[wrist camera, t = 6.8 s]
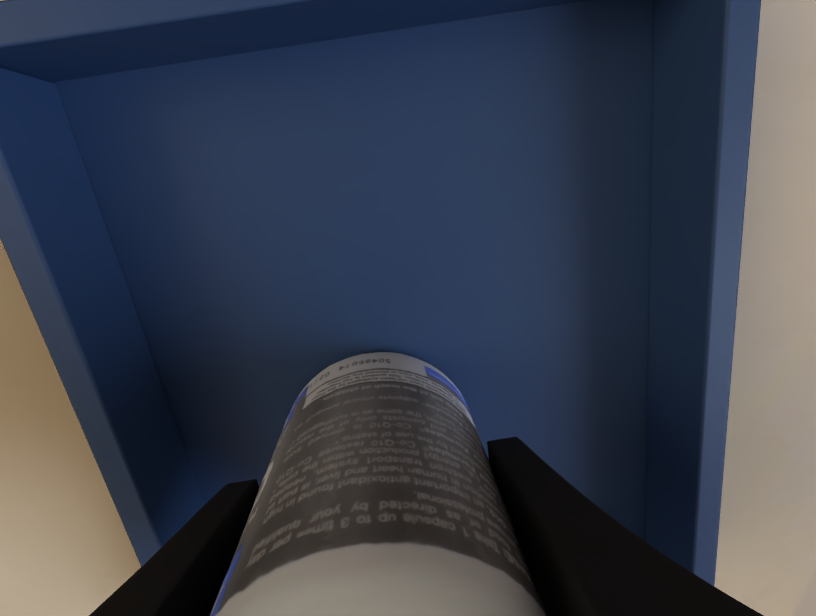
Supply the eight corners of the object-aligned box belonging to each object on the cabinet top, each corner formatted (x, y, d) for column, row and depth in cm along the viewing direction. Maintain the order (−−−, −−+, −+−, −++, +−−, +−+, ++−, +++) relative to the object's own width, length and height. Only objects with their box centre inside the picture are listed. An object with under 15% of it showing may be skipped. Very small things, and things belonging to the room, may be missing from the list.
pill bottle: (259, 379, 10) (-155, 1045, 2) (444, 323, 10) (660, 831, 2) (325, 527, 12) (203, 1266, 4) (489, 480, 12) (724, 1140, 4)
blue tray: (651, 536, 13) (712, 618, 11) (234, 606, 13) (199, 705, 11) (664, -35, 9) (772, -118, 6) (37, 61, 9) (-98, 13, 6)
